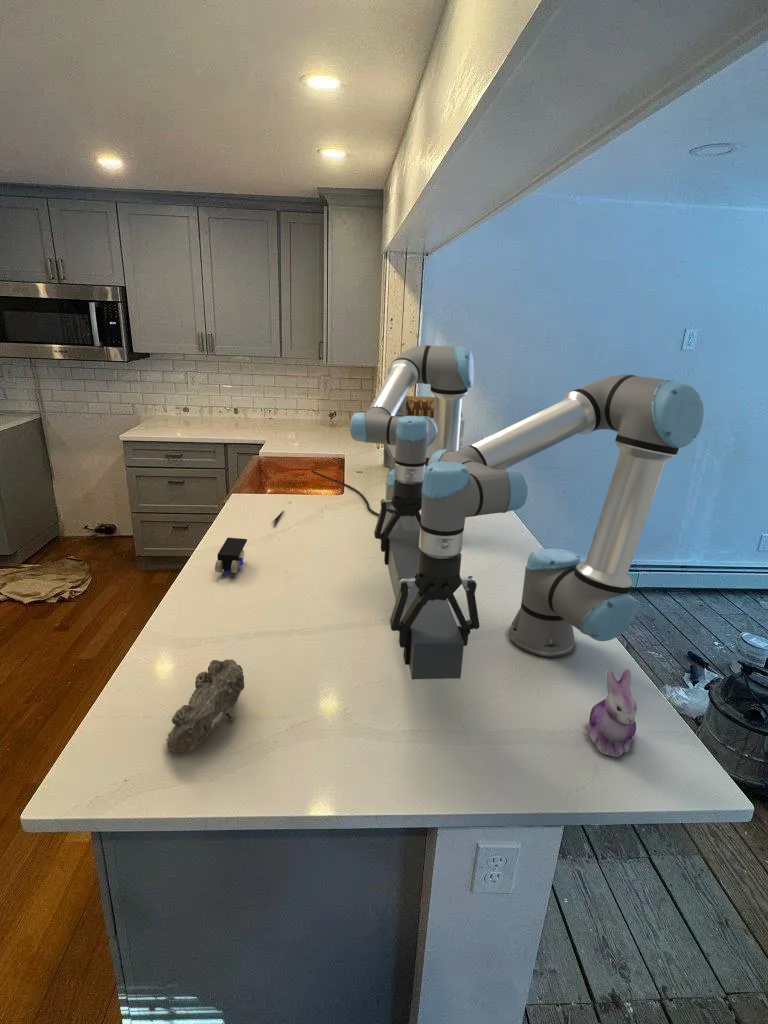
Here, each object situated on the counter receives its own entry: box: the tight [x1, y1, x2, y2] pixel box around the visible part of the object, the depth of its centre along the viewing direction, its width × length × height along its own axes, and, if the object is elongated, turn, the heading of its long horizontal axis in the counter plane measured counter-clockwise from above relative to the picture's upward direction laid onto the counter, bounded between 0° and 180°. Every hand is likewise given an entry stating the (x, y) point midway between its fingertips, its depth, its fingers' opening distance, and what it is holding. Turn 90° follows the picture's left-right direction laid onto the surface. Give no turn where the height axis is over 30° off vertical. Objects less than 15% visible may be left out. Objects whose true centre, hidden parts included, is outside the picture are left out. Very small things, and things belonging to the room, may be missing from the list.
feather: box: [271, 509, 284, 527], centre depth 213 cm, size 2×28×2 cm
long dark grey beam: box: [387, 530, 465, 680], centre depth 126 cm, size 54×9×8 cm, turn 5°
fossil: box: [166, 658, 245, 754], centre depth 106 cm, size 22×10×15 cm
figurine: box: [587, 668, 638, 758], centre depth 104 cm, size 9×10×15 cm
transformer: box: [383, 394, 465, 472], centre depth 268 cm, size 34×33×41 cm
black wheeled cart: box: [214, 537, 248, 578], centre depth 166 cm, size 7×8×15 cm
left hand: (404, 562), depth 148 cm, fingers closed on long dark grey beam, 9 cm apart
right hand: (431, 659), depth 107 cm, fingers closed on long dark grey beam, 9 cm apart
